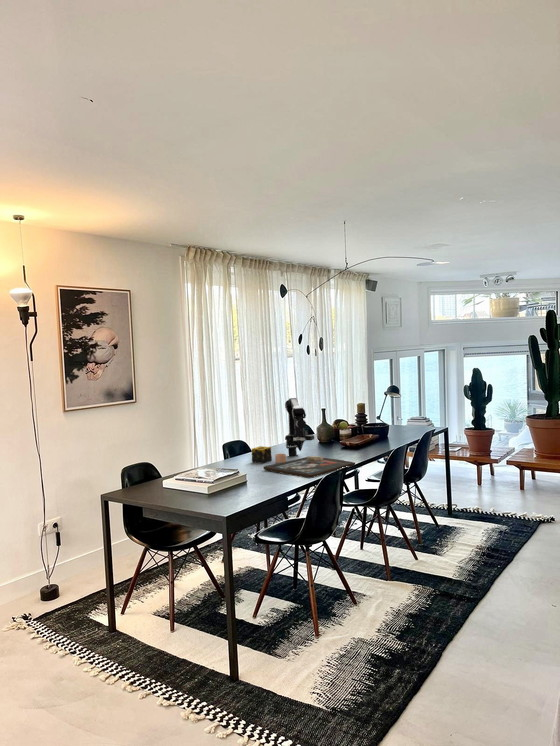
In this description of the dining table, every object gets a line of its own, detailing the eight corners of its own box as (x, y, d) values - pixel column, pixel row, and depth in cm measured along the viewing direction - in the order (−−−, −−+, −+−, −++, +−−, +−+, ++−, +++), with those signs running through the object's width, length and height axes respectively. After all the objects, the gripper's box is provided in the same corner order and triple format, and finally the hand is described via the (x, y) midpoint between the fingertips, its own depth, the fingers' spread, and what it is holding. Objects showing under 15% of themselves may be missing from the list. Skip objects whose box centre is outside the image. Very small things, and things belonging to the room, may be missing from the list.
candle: (260, 460, 385) (259, 446, 385) (272, 461, 379) (271, 446, 379) (251, 463, 377) (250, 448, 376) (263, 464, 371) (262, 449, 370)
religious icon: (261, 471, 349) (261, 466, 349) (309, 459, 381) (309, 455, 381) (308, 479, 320) (308, 474, 320) (356, 466, 352) (356, 461, 352)
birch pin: (307, 461, 362) (322, 462, 358) (306, 458, 360) (321, 458, 356) (308, 458, 364) (323, 459, 360) (307, 455, 363) (322, 455, 359)
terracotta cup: (278, 461, 377) (278, 453, 377) (288, 461, 374) (287, 453, 374) (273, 463, 371) (273, 455, 371) (283, 463, 368) (282, 455, 367)
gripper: (317, 425, 364) (318, 448, 364) (291, 425, 373) (293, 448, 373) (310, 427, 354) (311, 451, 354) (284, 427, 363) (285, 451, 363)
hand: (300, 450), depth 362 cm, fingers closed
